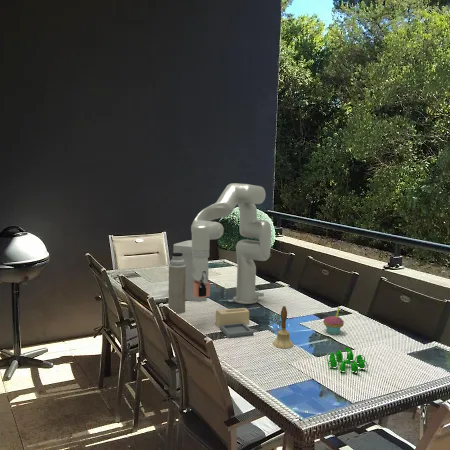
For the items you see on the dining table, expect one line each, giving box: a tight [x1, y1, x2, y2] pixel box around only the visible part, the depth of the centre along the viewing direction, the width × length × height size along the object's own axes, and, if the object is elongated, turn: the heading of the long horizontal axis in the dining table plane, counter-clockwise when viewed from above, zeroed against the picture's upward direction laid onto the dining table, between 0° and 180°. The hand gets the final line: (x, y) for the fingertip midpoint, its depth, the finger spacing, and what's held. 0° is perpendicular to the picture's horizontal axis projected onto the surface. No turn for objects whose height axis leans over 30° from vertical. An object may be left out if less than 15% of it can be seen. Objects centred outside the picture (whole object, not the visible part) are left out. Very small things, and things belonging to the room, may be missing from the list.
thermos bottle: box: [167, 252, 186, 314], centre depth 239 cm, size 8×8×28 cm
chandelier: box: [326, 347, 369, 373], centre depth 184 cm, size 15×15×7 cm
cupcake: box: [322, 306, 345, 335], centre depth 217 cm, size 9×8×12 cm
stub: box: [193, 280, 211, 298], centre depth 218 cm, size 6×5×6 cm
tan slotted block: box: [215, 307, 250, 328], centre depth 225 cm, size 14×5×6 cm, turn 111°
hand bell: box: [272, 305, 294, 350], centre depth 202 cm, size 8×8×16 cm
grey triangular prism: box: [172, 239, 208, 303], centre depth 261 cm, size 19×15×28 cm
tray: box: [219, 323, 254, 339], centre depth 215 cm, size 11×11×2 cm
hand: (200, 293), depth 218 cm, fingers closed on stub, 5 cm apart
